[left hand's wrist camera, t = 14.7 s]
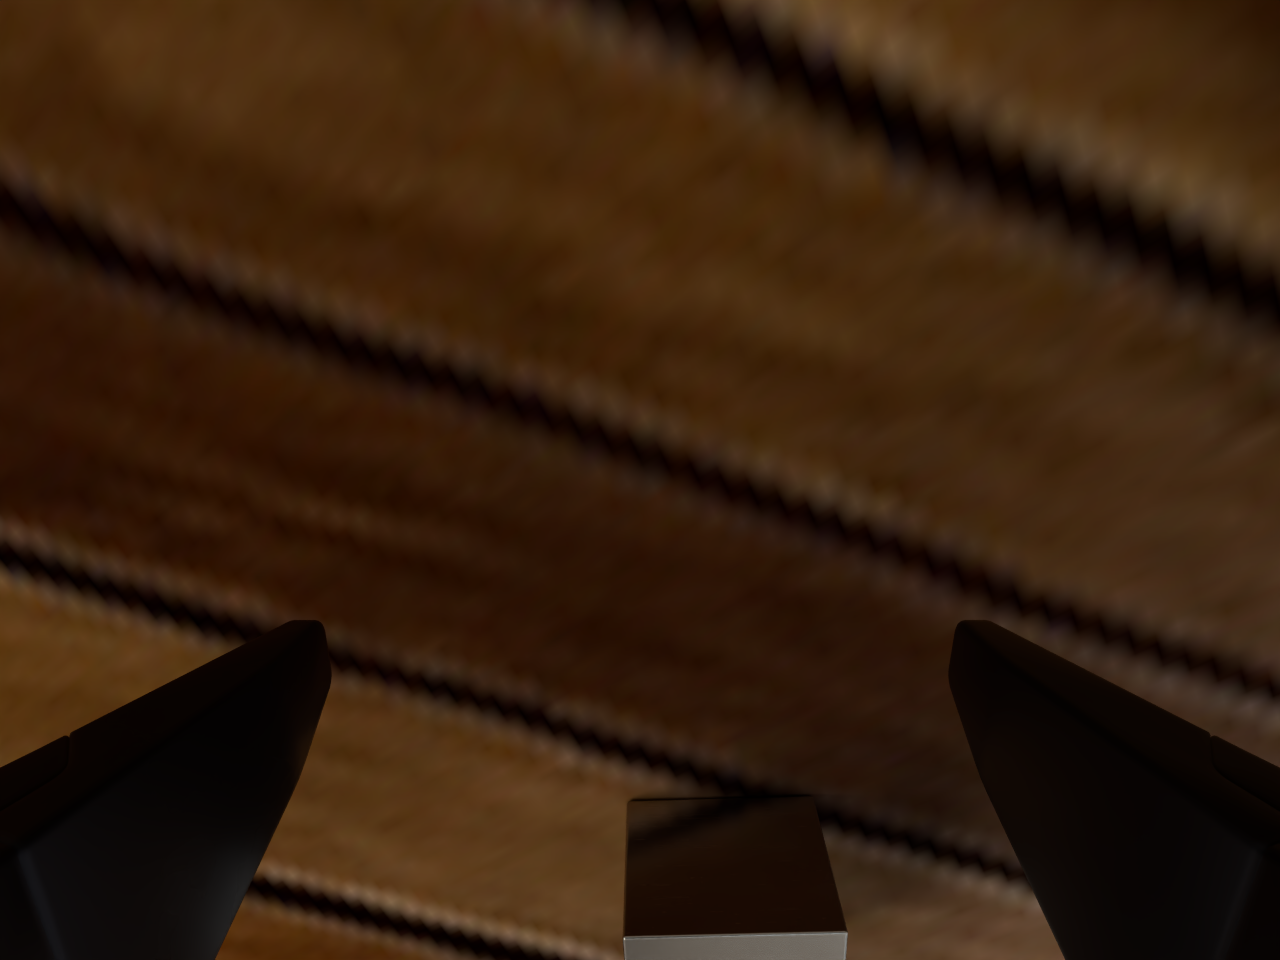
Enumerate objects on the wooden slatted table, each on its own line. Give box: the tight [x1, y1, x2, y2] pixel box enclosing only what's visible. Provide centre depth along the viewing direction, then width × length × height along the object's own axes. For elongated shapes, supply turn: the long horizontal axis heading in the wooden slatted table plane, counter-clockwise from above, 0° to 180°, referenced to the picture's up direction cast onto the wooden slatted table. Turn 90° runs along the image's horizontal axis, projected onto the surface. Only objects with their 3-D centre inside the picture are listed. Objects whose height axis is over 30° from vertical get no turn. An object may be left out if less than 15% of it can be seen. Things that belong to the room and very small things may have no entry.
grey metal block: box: [623, 796, 848, 960], centre depth 21 cm, size 5×5×4 cm
